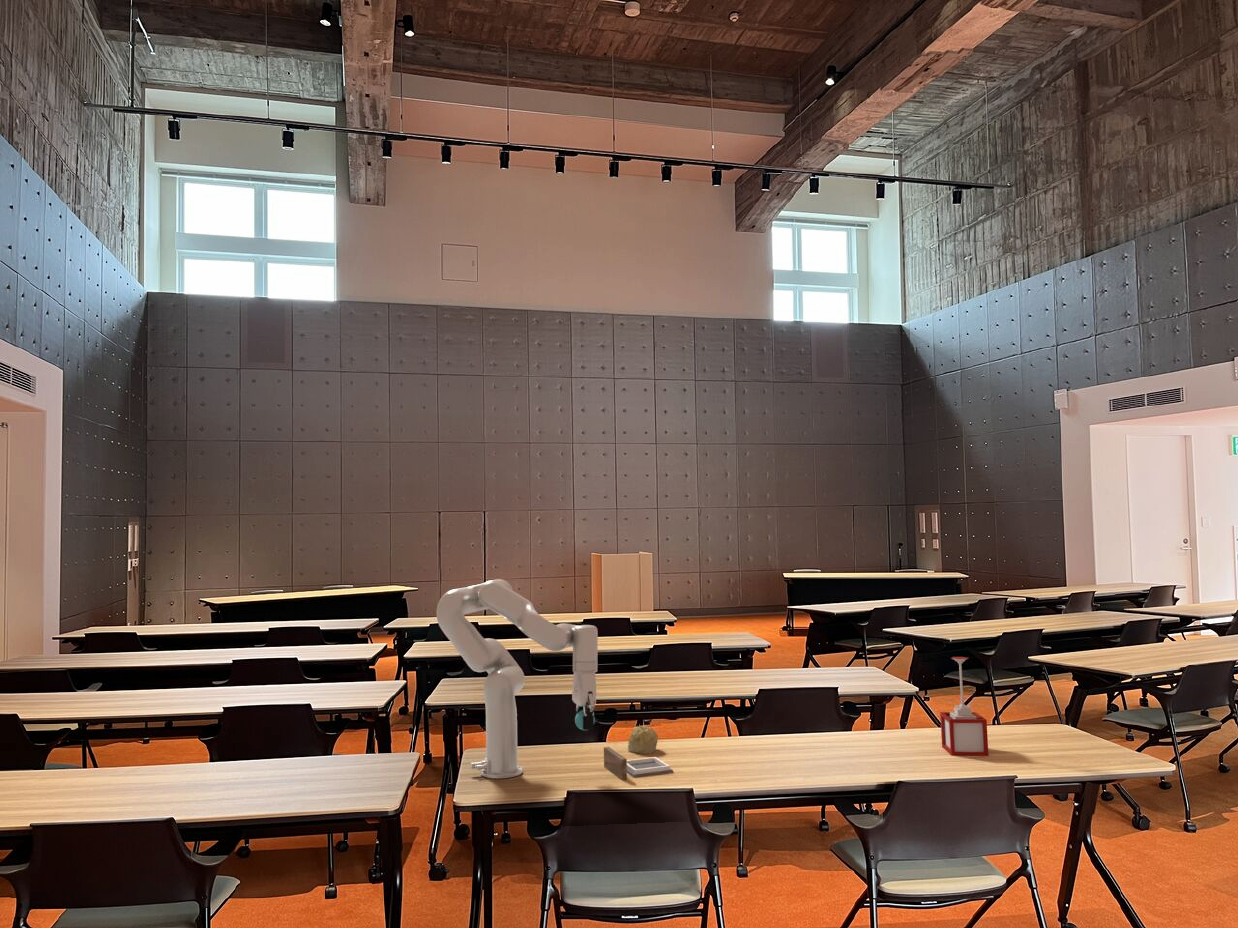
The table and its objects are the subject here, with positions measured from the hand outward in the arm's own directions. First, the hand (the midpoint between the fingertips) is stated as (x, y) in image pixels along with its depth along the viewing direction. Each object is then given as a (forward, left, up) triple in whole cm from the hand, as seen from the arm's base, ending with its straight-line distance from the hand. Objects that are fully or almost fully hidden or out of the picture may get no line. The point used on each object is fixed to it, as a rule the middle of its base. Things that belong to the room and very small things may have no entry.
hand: (584, 726), depth 256 cm
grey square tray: (+19, 0, -15) cm, 24 cm away
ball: (0, 0, +2) cm, 2 cm away
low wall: (+9, 0, -15) cm, 18 cm away
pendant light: (+122, -23, -15) cm, 126 cm away
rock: (+27, +22, -15) cm, 38 cm away
